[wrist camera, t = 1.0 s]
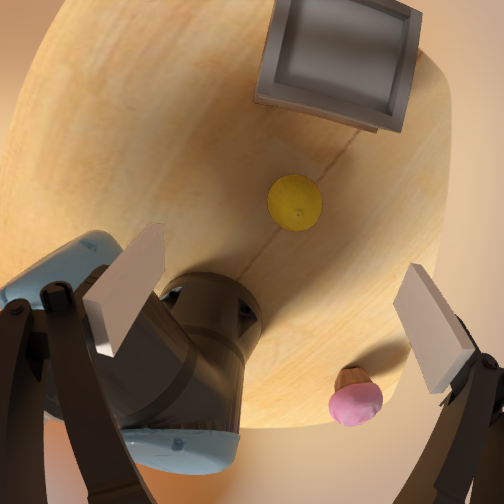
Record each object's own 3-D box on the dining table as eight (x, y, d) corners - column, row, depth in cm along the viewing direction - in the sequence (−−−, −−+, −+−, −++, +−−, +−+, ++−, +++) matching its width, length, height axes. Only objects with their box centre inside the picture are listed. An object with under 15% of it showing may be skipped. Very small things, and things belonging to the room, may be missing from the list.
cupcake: (323, 391, 49) (329, 437, 40) (325, 360, 45) (333, 410, 36) (370, 384, 48) (381, 428, 39) (377, 353, 44) (392, 400, 35)
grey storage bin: (361, 129, 29) (404, 141, 19) (254, 103, 29) (247, 98, 19) (381, 36, 24) (428, 10, 14) (276, 6, 24) (279, -39, 13)
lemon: (324, 183, 33) (340, 205, 26) (299, 222, 35) (307, 253, 28) (283, 158, 32) (287, 173, 25) (258, 200, 34) (255, 226, 27)
